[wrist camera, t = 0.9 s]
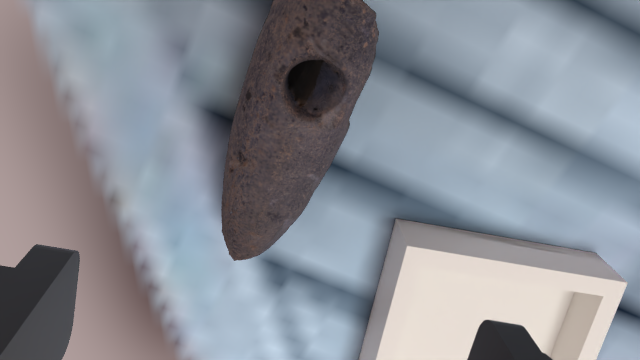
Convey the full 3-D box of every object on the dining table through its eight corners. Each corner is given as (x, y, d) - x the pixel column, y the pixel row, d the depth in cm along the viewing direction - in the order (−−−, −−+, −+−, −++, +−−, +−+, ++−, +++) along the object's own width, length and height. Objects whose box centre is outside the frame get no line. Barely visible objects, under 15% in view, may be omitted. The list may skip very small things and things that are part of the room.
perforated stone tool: (283, 246, 34) (281, 313, 28) (194, 215, 33) (170, 276, 27) (393, -13, 30) (422, -7, 23) (293, -56, 29) (293, -63, 22)
